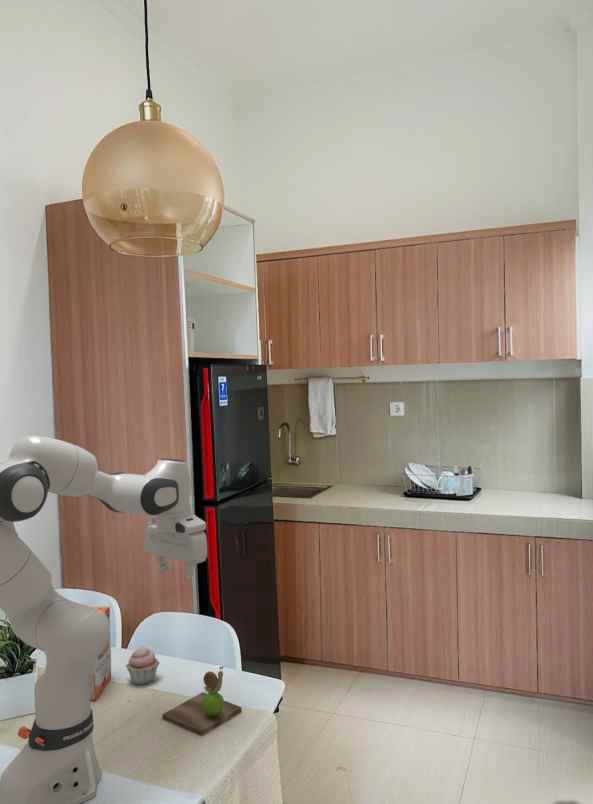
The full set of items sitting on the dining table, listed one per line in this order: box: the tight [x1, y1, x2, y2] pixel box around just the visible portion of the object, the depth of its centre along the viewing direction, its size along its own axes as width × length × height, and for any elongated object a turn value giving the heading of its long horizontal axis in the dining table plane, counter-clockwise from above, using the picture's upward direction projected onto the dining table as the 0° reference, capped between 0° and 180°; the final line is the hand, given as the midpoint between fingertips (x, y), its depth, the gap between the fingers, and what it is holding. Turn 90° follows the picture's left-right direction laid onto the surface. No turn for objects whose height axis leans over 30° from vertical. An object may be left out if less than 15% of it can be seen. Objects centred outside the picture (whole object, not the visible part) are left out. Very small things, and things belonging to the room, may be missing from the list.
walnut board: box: [162, 691, 242, 737], centre depth 166 cm, size 14×14×1 cm
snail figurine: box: [202, 665, 225, 716], centre depth 163 cm, size 5×6×12 cm
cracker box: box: [90, 605, 112, 701], centre depth 182 cm, size 14×6×21 cm, turn 179°
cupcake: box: [125, 644, 160, 686], centre depth 186 cm, size 9×9×10 cm
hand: (175, 575), depth 168 cm, fingers open, 8 cm apart
